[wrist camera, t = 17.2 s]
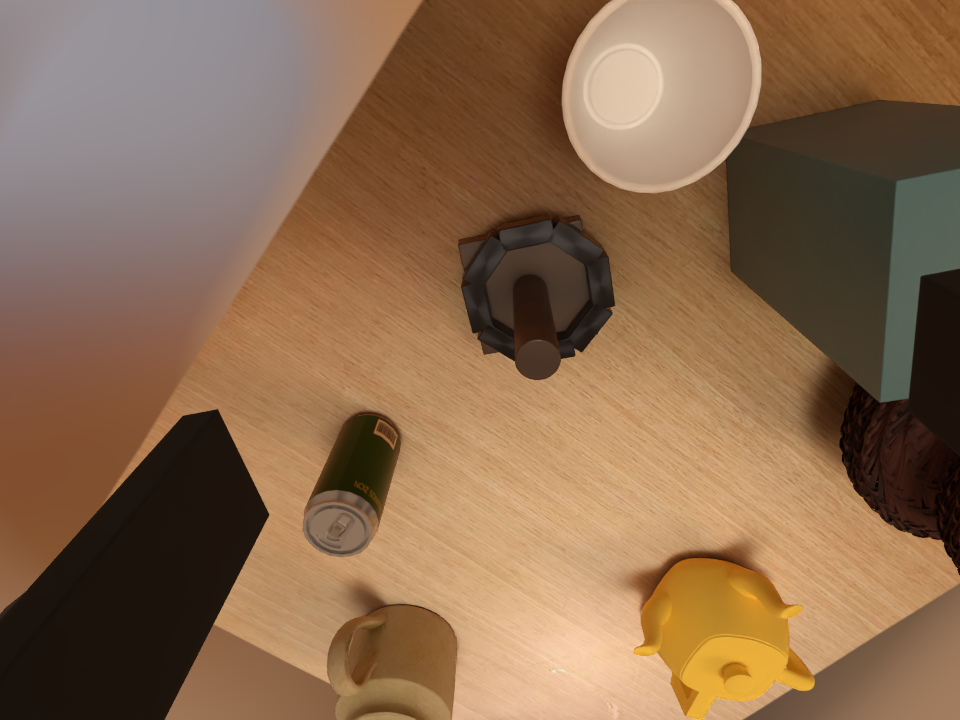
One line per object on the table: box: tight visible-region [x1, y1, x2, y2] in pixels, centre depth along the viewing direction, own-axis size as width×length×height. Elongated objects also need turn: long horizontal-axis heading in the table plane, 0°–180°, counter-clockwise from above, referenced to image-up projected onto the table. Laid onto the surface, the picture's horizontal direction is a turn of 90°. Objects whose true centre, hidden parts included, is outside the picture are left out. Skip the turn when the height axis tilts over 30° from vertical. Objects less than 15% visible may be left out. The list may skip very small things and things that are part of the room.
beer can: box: [303, 413, 401, 557], centre depth 47 cm, size 5×5×12 cm
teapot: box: [633, 558, 815, 720], centre depth 55 cm, size 14×13×10 cm
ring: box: [461, 214, 615, 361], centre depth 44 cm, size 11×11×2 cm
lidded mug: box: [327, 605, 457, 720], centre depth 57 cm, size 15×11×15 cm
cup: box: [562, 0, 762, 193], centre depth 35 cm, size 10×10×11 cm
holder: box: [458, 215, 598, 380], centre depth 40 cm, size 9×9×14 cm
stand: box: [727, 100, 960, 403], centre depth 34 cm, size 10×10×20 cm
